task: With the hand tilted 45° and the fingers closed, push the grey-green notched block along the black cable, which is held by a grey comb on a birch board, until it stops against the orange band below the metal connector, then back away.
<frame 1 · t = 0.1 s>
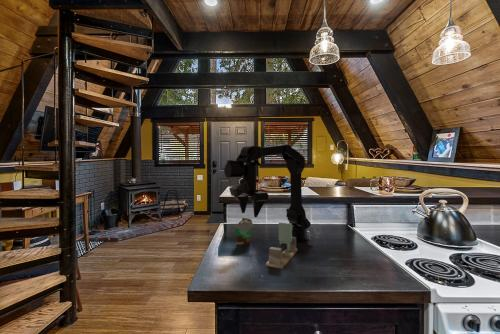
hand: (249, 215, 111), 15 cm above the countertop, tool pointing down, fingers open, 9 cm apart
food container: (245, 243, 121), on the countertop
cable comb board: (282, 257, 104), on the countertop
grey-green notched block: (285, 236, 106), point 8 cm above the countertop, slide at 0.0 cm
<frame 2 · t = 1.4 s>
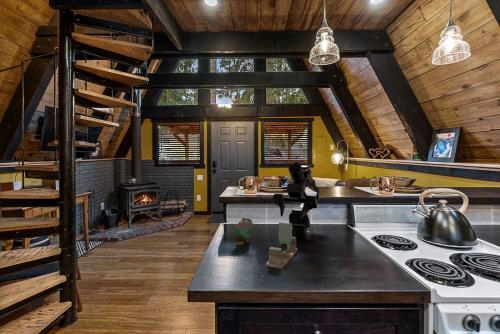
hand: (290, 217, 113), 13 cm above the countertop, tool tilted 45°, fingers open, 8 cm apart
nothing on the countertop moved.
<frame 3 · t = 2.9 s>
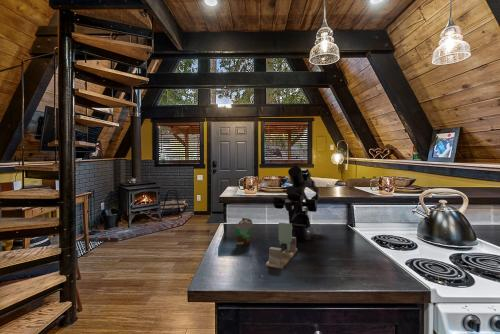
hand: (290, 220, 112), 12 cm above the countertop, tool tilted 45°, fingers closed
nothing on the countertop moved.
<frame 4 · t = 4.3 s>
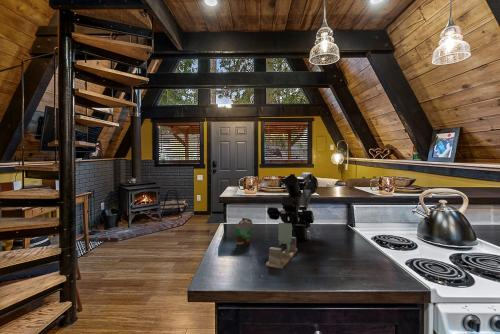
hand: (285, 232, 107), 9 cm above the countertop, tool tilted 45°, fingers closed, pressing on grey-green notched block
grey-green notched block: (285, 236, 106), point 7 cm above the countertop, slide at 0.2 cm, touching gripper
everything else where it was.
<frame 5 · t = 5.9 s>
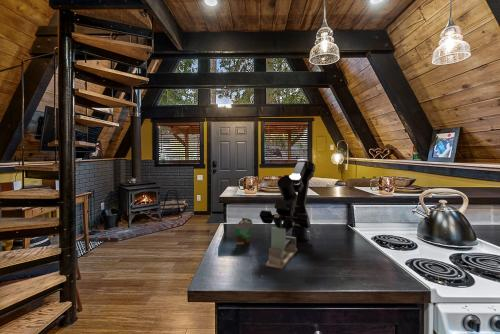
hand: (279, 238, 99), 9 cm above the countertop, tool tilted 45°, fingers closed, pressing on grey-green notched block
grey-green notched block: (278, 242, 99), point 7 cm above the countertop, slide at 8.3 cm, touching cable comb board, gripper
everything else where it was.
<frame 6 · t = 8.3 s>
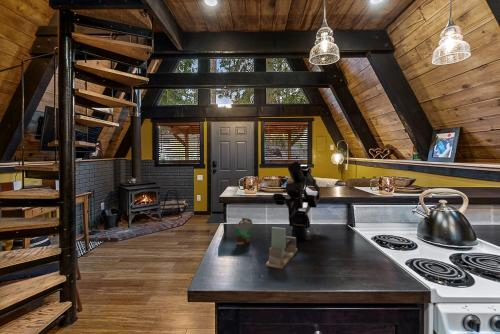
hand: (290, 216, 114), 14 cm above the countertop, tool tilted 45°, fingers closed
grey-green notched block: (278, 242, 99), point 7 cm above the countertop, slide at 8.1 cm
everything else where it was.
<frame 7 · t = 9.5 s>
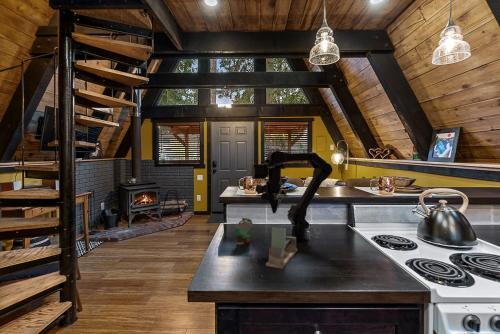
hand: (274, 213, 123), 13 cm above the countertop, tool pointing down, fingers closed
nothing on the countertop moved.
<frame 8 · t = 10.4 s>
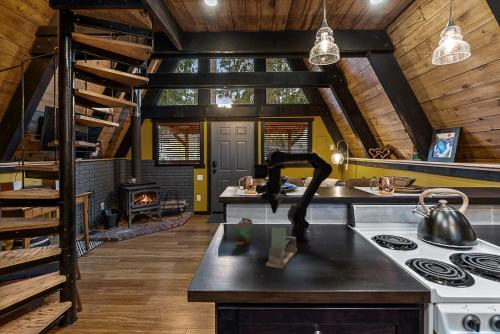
hand: (274, 213, 123), 13 cm above the countertop, tool pointing down, fingers closed
nothing on the countertop moved.
at the end: grey-green notched block slide at 8.1 cm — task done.
